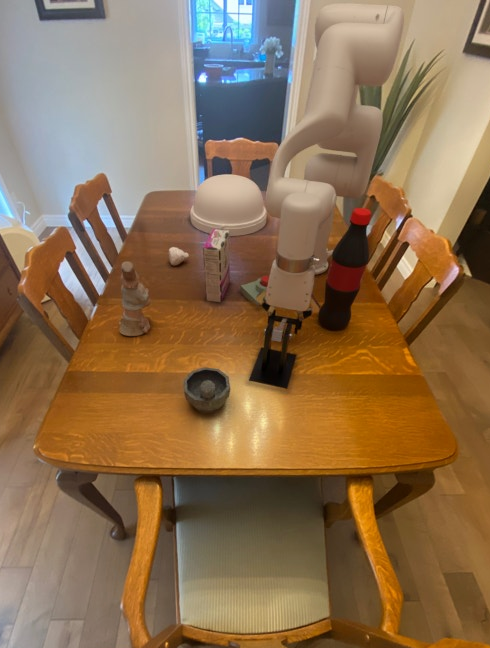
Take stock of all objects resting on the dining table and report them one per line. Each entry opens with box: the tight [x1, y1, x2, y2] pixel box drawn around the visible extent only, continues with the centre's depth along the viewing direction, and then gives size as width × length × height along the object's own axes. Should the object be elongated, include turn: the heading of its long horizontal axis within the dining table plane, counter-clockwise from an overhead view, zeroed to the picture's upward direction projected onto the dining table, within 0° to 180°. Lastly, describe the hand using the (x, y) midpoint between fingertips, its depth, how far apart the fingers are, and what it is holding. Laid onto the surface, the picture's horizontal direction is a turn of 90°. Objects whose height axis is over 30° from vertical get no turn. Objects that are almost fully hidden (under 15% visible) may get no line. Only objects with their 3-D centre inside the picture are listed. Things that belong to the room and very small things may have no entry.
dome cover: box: [190, 173, 268, 237], centre depth 138 cm, size 32×30×14 cm
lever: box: [271, 314, 297, 343], centre depth 84 cm, size 13×6×2 cm, turn 164°
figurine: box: [118, 260, 152, 337], centre depth 90 cm, size 9×8×20 cm
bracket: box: [248, 319, 298, 390], centre depth 83 cm, size 12×9×13 cm
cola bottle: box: [317, 207, 372, 332], centre depth 88 cm, size 8×8×30 cm
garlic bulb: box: [168, 246, 190, 267], centre depth 118 cm, size 6×6×5 cm
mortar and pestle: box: [183, 366, 231, 414], centre depth 75 cm, size 11×9×12 cm
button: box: [260, 275, 270, 287], centre depth 105 cm, size 4×4×2 cm
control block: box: [239, 277, 267, 307], centre depth 107 cm, size 12×10×4 cm
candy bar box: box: [202, 229, 231, 304], centre depth 103 cm, size 11×5×16 cm, turn 168°
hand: (284, 327), depth 90 cm, fingers closed on lever, 5 cm apart
